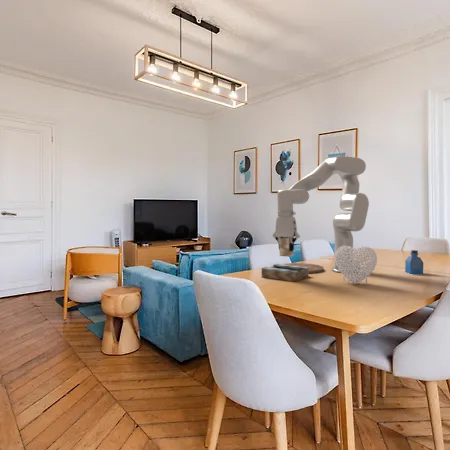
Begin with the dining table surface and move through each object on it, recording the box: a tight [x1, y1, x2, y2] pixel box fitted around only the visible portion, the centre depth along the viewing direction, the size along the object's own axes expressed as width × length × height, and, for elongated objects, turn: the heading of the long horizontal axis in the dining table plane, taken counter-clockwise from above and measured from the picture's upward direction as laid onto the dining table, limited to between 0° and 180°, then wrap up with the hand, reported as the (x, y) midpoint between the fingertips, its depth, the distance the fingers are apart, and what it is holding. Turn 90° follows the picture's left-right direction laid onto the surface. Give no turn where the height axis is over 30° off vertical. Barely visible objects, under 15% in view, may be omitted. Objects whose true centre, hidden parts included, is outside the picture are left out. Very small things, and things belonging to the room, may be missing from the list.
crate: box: [261, 263, 309, 282], centre depth 168 cm, size 18×16×5 cm
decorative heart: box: [334, 246, 378, 286], centre depth 151 cm, size 18×11×17 cm, turn 57°
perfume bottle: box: [404, 249, 424, 275], centre depth 173 cm, size 6×6×12 cm
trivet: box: [283, 262, 325, 275], centre depth 187 cm, size 25×25×2 cm
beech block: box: [278, 237, 294, 257], centre depth 167 cm, size 5×5×9 cm
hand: (286, 250), depth 167 cm, fingers closed on beech block, 5 cm apart
